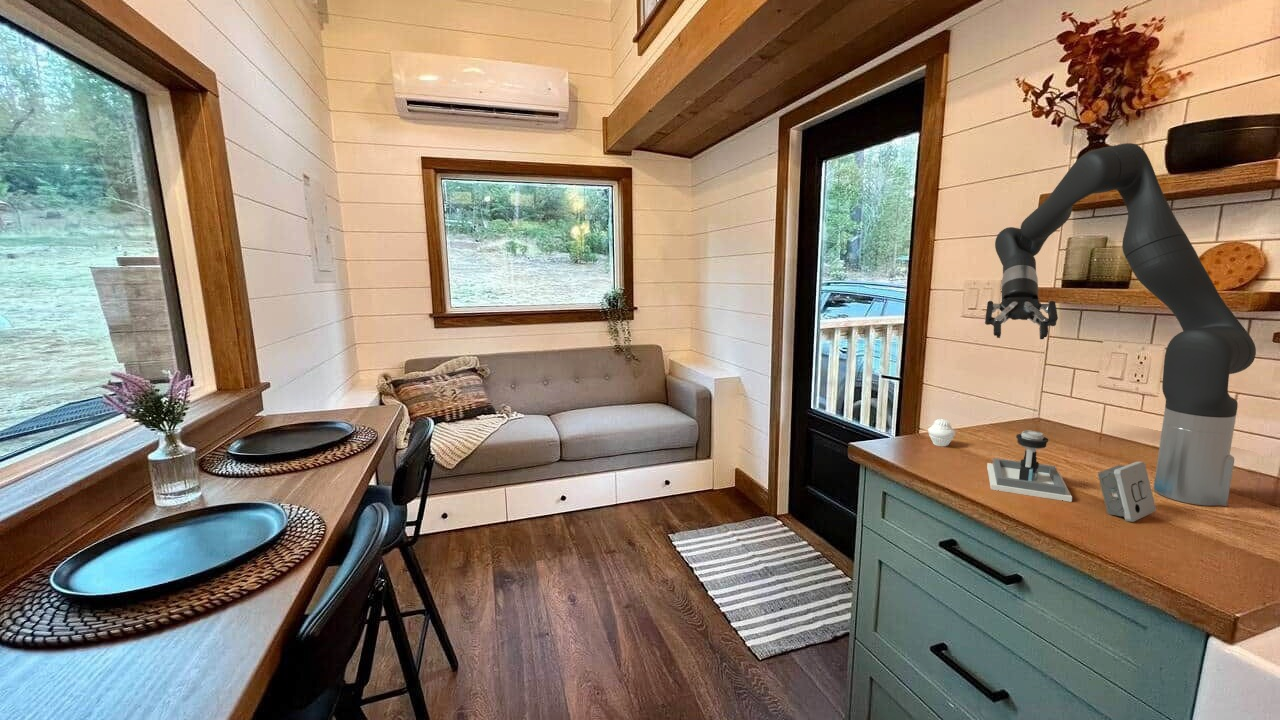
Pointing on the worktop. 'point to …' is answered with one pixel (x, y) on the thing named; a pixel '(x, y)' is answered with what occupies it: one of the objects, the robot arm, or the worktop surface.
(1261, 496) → the worktop surface
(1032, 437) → the push button
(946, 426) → the muffin
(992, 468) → the grey square tray
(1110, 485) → the electrical outlet
